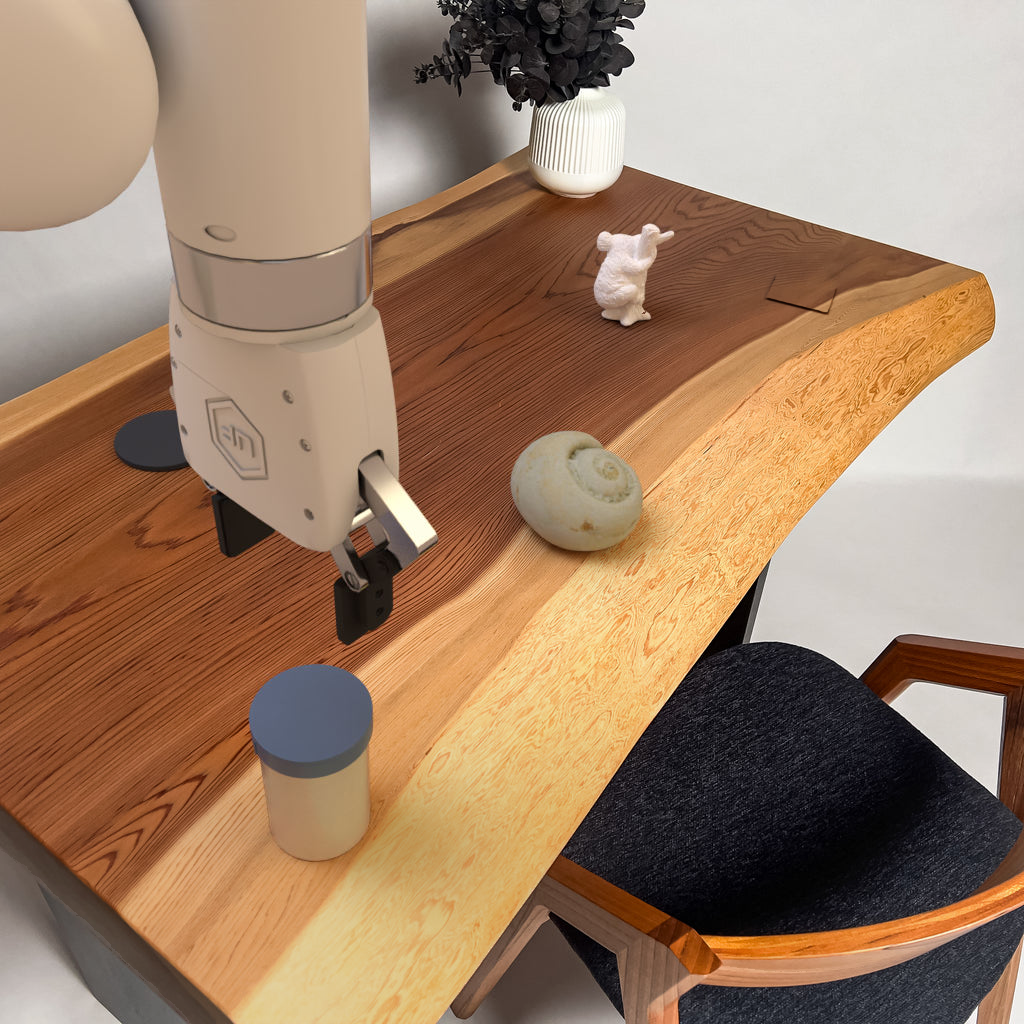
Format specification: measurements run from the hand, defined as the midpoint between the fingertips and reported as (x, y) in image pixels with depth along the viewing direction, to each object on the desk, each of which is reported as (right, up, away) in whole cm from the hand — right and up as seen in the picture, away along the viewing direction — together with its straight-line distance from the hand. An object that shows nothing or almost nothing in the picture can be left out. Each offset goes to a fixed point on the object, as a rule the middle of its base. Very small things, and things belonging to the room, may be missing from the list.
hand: (305, 582), depth 48 cm
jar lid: (-1, -8, +7) cm, 10 cm away
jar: (-2, -16, +13) cm, 21 cm away
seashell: (+15, +3, +38) cm, 41 cm away
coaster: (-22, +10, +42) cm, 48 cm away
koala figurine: (+24, +27, +67) cm, 76 cm away
